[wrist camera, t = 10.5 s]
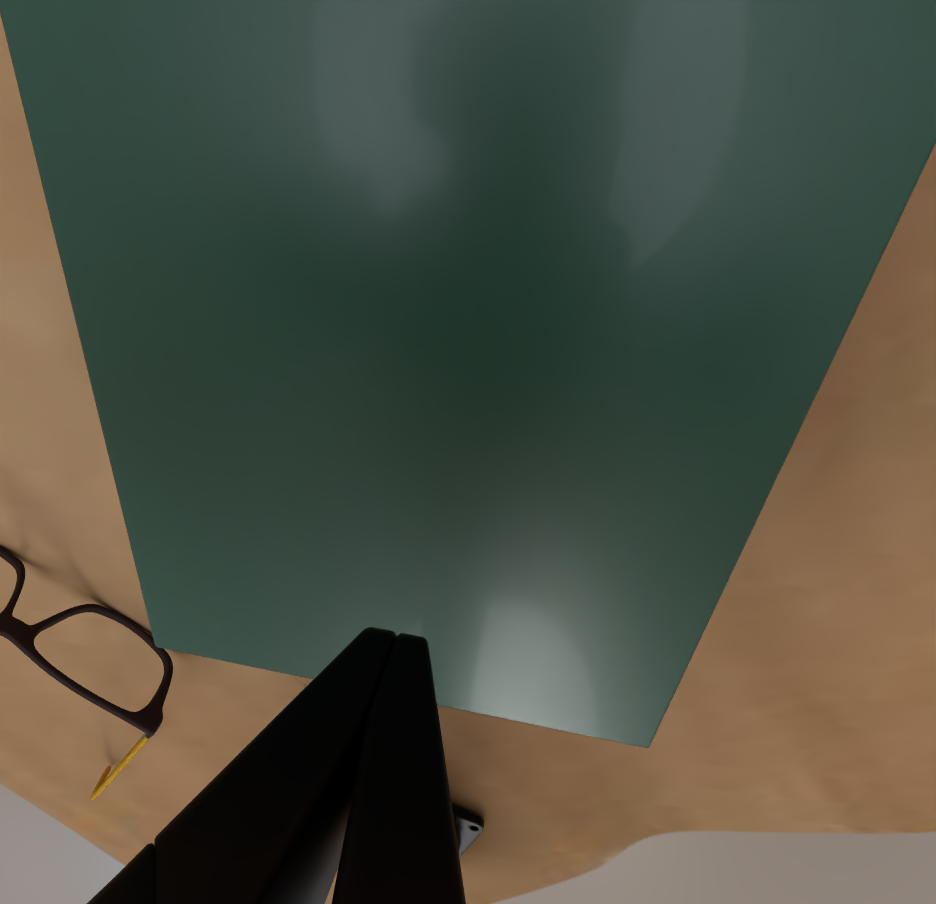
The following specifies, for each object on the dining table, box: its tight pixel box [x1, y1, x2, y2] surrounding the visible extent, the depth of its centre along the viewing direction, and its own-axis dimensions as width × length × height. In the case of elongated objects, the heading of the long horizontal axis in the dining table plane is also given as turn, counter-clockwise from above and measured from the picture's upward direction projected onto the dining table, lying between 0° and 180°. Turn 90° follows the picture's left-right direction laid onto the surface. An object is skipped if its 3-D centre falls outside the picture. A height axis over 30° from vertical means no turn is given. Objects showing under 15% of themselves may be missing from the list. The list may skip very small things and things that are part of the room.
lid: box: [0, 0, 936, 748], centre depth 11 cm, size 15×13×1 cm
